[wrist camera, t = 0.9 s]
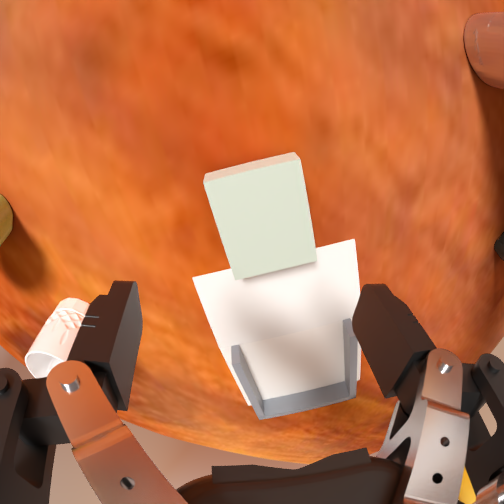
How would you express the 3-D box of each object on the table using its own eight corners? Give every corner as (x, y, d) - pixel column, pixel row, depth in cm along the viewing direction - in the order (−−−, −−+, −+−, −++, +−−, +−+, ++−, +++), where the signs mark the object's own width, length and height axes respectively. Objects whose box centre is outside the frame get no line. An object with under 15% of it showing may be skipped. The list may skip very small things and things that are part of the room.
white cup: (45, 309, 35) (16, 364, 26) (72, 283, 33) (40, 342, 24) (87, 344, 39) (67, 401, 30) (118, 323, 37) (98, 385, 28)
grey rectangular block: (292, 149, 27) (300, 158, 24) (309, 242, 32) (317, 260, 29) (206, 170, 28) (203, 182, 25) (234, 260, 33) (235, 280, 30)
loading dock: (351, 234, 33) (370, 261, 29) (355, 368, 46) (365, 394, 41) (192, 272, 34) (188, 304, 30) (247, 393, 47) (249, 421, 43)
